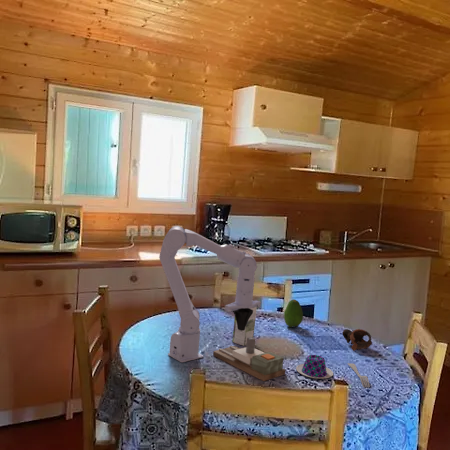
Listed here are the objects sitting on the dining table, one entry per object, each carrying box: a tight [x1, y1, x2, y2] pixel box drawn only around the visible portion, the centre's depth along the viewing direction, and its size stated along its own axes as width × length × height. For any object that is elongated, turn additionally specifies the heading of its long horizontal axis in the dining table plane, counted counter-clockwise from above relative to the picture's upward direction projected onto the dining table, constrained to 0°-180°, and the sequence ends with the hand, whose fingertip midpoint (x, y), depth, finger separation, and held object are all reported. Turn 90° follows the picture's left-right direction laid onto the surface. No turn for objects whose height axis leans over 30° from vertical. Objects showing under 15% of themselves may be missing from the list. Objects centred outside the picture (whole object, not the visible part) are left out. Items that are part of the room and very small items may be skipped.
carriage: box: [233, 337, 265, 365], centre depth 162 cm, size 8×8×7 cm
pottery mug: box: [342, 328, 373, 352], centre depth 188 cm, size 12×10×8 cm
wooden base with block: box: [212, 345, 286, 382], centre depth 162 cm, size 10×24×6 cm, turn 42°
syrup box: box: [231, 307, 258, 347], centre depth 182 cm, size 6×6×14 cm
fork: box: [346, 362, 371, 388], centre depth 161 cm, size 3×21×3 cm, turn 0°
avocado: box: [283, 298, 304, 328], centre depth 206 cm, size 8×8×12 cm
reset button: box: [261, 354, 275, 360], centre depth 156 cm, size 3×3×3 cm
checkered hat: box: [295, 354, 334, 380], centre depth 161 cm, size 12×12×5 cm
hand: (241, 329), depth 166 cm, fingers closed
